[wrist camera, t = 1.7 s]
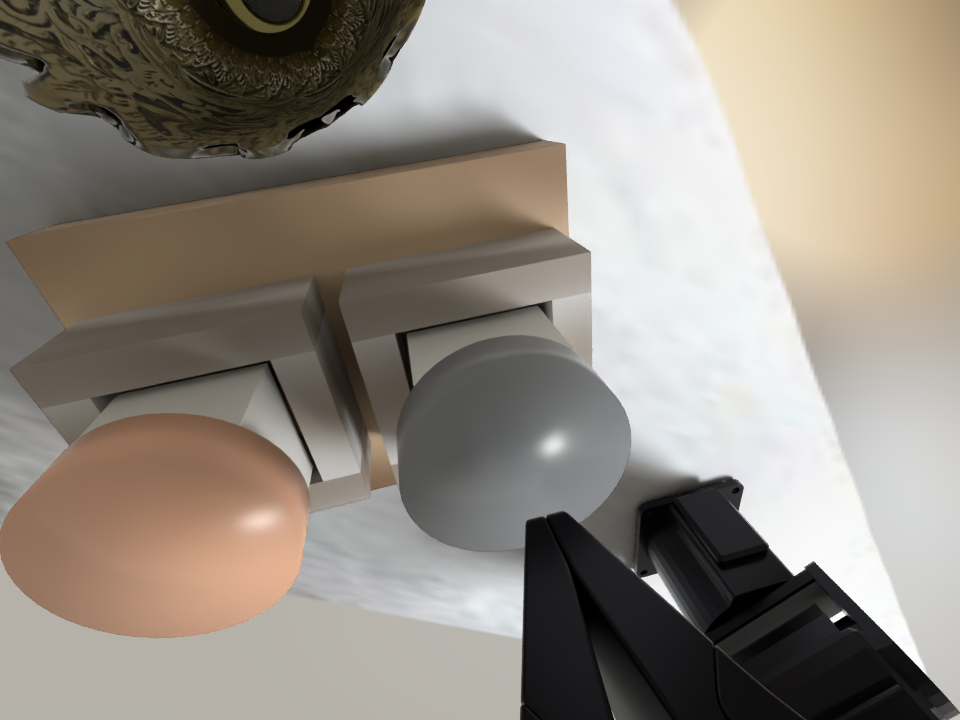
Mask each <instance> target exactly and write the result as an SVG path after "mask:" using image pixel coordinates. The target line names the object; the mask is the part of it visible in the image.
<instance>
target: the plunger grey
mask: <svg viewBox="0 0 960 720" xmlns="http://www.w3.org/2000/svg"><path fill="white" fill-rule="evenodd" d="M407 341H408V349H409V356H410V364H411V371H412V379H413V386H414V387H413V389H412V390H411V392H410V394H409V395H408V397H407V398H406V401H405V403H404V405H403V407H402V409H401V413H400V416H399V419H398V424H397V432H396V438H397V458H398V475H399V489H400V494H401V498H402V501H403V504H404V506H405V508H406V511H407V512H408V514H409V515H410V517H411V518H412V520H413V521H414V522H415V523H416V524H417V525H418V526H419V527H420V528H421V529H422V530H423V531H425V532H426V533H427V534H428V535H430V536H431V537H433V538H435V539H437V540H438V541H440V542H443V543H445V544H448V545H450V546H453V547H457V548H461V549H465V550H471V551H481V552H499V551H509V550H516V549H520V548H525V524H526V521H527V520H528V519H532V518H536V517H540V516H544V517H545V518H546V516H547V515H548V514H551V513H555V512H559V511H565V512H567V513H568V514H569V515H571V516H572V517H573V518H574V519H575V520H576V521H577V522H578V523H580V522H582V521H583V520H584V519H586V518H587V517H588V516H590V515H591V514H592V513H593V512H594V511H595V510H596V509H597V508H599V507H600V505H601V504H602V503H603V502H604V501H605V500H606V499H607V498H608V497H609V495H610V494H611V493H612V491H613V490H614V488H615V487H616V485H617V484H618V482H619V480H620V479H621V477H622V475H623V472H624V470H625V468H626V465H627V462H628V458H629V455H630V448H631V429H630V424H629V420H628V417H627V415H626V412H625V410H624V408H623V406H622V405H621V403H620V402H619V400H618V398H617V397H616V396H615V395H614V394H613V393H612V391H611V390H610V389H609V388H608V387H607V385H606V384H605V383H604V382H603V381H602V379H601V378H600V377H599V376H598V375H597V373H596V372H595V371H594V370H593V369H592V367H591V366H590V365H589V364H588V363H587V362H586V361H585V360H584V359H583V358H582V357H581V356H580V355H579V354H577V353H576V352H575V351H574V349H573V348H572V347H571V345H570V344H569V343H568V342H567V340H566V339H565V338H564V337H563V336H562V334H561V333H560V332H559V331H558V330H557V328H556V327H555V326H554V325H553V324H552V322H551V321H550V320H549V319H548V318H547V316H546V315H545V314H544V313H543V311H542V310H541V309H540V308H539V307H538V305H537V306H533V307H528V308H523V309H519V310H514V311H509V312H504V313H500V314H495V315H490V316H486V317H481V318H476V319H472V320H467V321H462V322H457V323H453V324H448V325H443V326H439V327H434V328H429V329H425V330H420V331H415V332H410V333H407Z"/></svg>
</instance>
